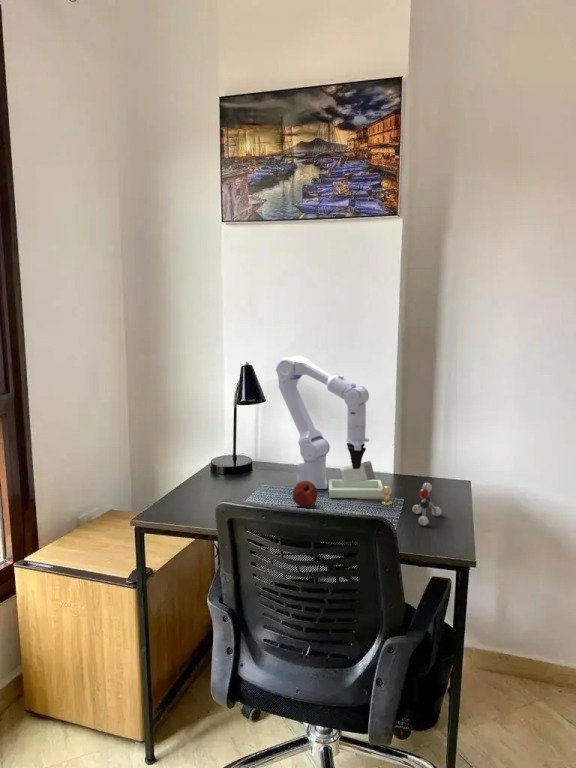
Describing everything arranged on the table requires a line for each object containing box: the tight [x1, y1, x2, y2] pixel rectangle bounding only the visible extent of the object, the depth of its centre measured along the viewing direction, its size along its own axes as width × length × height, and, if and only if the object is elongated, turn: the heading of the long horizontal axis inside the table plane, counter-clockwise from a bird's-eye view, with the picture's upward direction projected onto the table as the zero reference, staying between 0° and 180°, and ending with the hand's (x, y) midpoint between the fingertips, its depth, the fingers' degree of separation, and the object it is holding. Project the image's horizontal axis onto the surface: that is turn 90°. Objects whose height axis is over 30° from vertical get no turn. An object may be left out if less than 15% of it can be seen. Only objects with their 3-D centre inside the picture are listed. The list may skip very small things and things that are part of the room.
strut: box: [339, 460, 376, 486], centre depth 188 cm, size 10×4×5 cm, turn 88°
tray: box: [327, 479, 384, 500], centre depth 189 cm, size 17×11×3 cm, turn 87°
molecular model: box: [411, 482, 442, 527], centre depth 165 cm, size 8×12×11 cm
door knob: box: [381, 485, 392, 506], centre depth 179 cm, size 3×3×6 cm
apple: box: [292, 481, 318, 508], centre depth 176 cm, size 7×8×8 cm
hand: (355, 466), depth 187 cm, fingers closed on strut, 3 cm apart
